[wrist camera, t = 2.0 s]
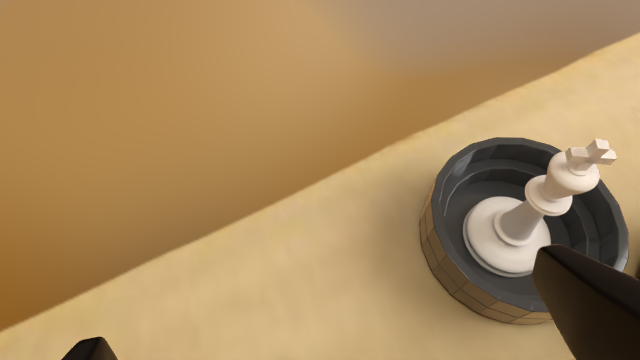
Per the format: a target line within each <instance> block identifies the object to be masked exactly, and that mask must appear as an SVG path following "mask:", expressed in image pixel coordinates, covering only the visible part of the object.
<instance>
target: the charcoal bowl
mask: <svg viewBox="0 0 640 360" xmlns="http://www.w3.org/2000/svg"><path fill="white" fill-rule="evenodd" d="M559 152H562V151H561V150H559V149H557V148H555V147H553V146H550V145H548V144H544V143H540V142H537V141H533V140H529V139H525V138H499V137H496V138H492V139H488V140H484V141H481V142H477V143H473V144H470V145H469V146H467V147H466V148H464V149H463V150H461V151H460V152H458V153H456V154H455V155H453V156H452V157H451V158H450V159H449V160H448V162H447V163H446V164H445V166H444V167H443V168H442V170H441V171H440V173H439V174H438V175H437V177H436V179H435V181H434V184H433V186H432V188H431V190H430V192H429V194H428V196H427V198H426V201H425V204H424V207H423V211H422V215H421V219H420V232H421V243H422V249H423V251H424V253H425V256H426V258H427V260H428V263H429V265H430V267H431V270H432V271H433V273H434V275H435V276H436V277H437V278H438V279H439V281H440V282H441V283H442V284H443V285H444V287H445V288H446V289H447V290H448V291H449V293H450V294H451V295H453V296H454V297H455V298H457V299H458V300H459V301H461V302H462V303H464V304H465V305H467V306H468V307H470V308H471V309H472V310H474V311H475V312H478V313H479V314H482V315H485V316H487V317H490V318H493V319H496V320H499V321H502V322H505V323H512V324H539V323H542V322H545V321H548V320H551V319H552V317H551V315H550V313H549V312H548V310H547V308H546V306H545V304H544V303H543V301H542V299H541V297H540V295H539V294H538V292H537V290H536V288H535V286H534V284H533V280H532V273H531V274H529V275H526V276H522V277H506V276H501V275H498V274H495V273H493V272H491V271H489V270H487V269H486V268H484V267H483V266H481V265H480V264H479V263H478V262H477V261H476V260H475V259H474V258H473V257H472V255H471V254H470V252H469V251H468V249H467V247H466V244H465V242H464V238H463V223H464V220H465V217H466V215H467V214H468V212H469V211H470V210H471V209H472V208H473V207H474V206H476V205H477V204H478V203H480V202H481V201H483V200H485V199H488V198H491V197H499V196H502V197H510V198H514V199H517V200H520V201H522V202H524V201H526V200H527V199H526V196H525V187H526V184H527V183H528V182H529V181H530V180H531V179H532V178H534V177H537V176H540V175H547V169H548V165H549V162H550V160H551V159H552V157H553V156H554V155H556V154H557V153H559ZM543 220H544V221H545V223H546V225H547V227H548V229H549V232H550V237H551V245H553V244H561V245H564V246H566V247H568V248H570V249H573V250H575V251H577V252H579V253H581V254H583V255H586V256H588V257H590V258H592V259H594V260H597V261H599V262H601V263H603V264H605V265H608V266H610V267H612V268H614V269H616V270H619V271H621V272H623V270H624V268H625V266H626V263H627V261H628V229H627V226H626V223H625V220H624V218H623V215H622V212H621V209H620V206H619V204H618V202H617V201H616V200H615V198H614V197H613V195H612V194H611V193H610V191H609V190H608V188H607V187H606V186H605V184H604V183H603V181H602V180H601V179H600V178H599V182H598V184H597V185H596V186H595V187H594V188H593V189H591V190H590V191H587V192H584V193H581V194H575V195H572V204H571V206H570V208H569V210H568V211H567V212H566V213H564V214H562V215H559V216H548V215H544V217H543Z"/></svg>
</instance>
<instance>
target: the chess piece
mask: <svg viewBox="0 0 640 360" xmlns="http://www.w3.org/2000/svg"><path fill="white" fill-rule="evenodd" d="M616 159H617V158H616V155H615V151H614V150H610V148H609V144H608V141H607V140H603V139H595V140H594V141H593V142H592V143H591V144H590V145H589V146H588V147H587V148H581V147H570V148H569V149H568V150H567V151H562V152H559V153H557V154H556V155H554V156H553V157H552V159H551V160H550V162H549V165H548V169H547V175H540V176H537V177H534V178H532V179H531V180H530V181H529V182H528V183H527V184H526V187H525V196H526V199H527V200H526V201H524V202H522V201H520V200H517V199H514V198H510V197H502V196H499V197H491V198H488V199H485V200H483V201H481V202H480V203H478V204H477V205H476V206H474V207H473V208H472V209H471V210H470V211H469V212H468V214H467V215H466V217H465V220H464V223H463V238H464V242H465V244H466V247H467V249H468V251H469V252H470V254H471V255H472V257H473V258H474V259H475V260H476V261H477V262H478V263H479V264H480V265H481V266H483V267H484V268H486V269H487V270H489V271H491V272H493V273H495V274H498V275H501V276H506V277H522V276H526V275H529V274H531V273H532V272H533V267H534V263H535V258H536V254H537V251H538V249H539V248H540V247H543V246H548V245H551V237H550V232H549V229H548V227H547V225H546V223H545V221H544V220H543V217H544V215H548V216H559V215H562V214H564V213H566V212H567V211H568V210H569V208H570V206H571V204H572V195H575V194H581V193H584V192H587V191H590V190H591V189H593V188H594V187H595V186H596V185H597V184H598V182H599V170H598V168H597V166H596V164H607V165H610V164H612V163H613V162H614V161H615V160H616Z"/></svg>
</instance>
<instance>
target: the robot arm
mask: <svg viewBox="0 0 640 360" xmlns="http://www.w3.org/2000/svg"><path fill="white" fill-rule="evenodd" d="M532 280H533V284H534V286H535V288H536V290H537V292H538V294H539V295H540V297H541V299H542V301H543V303H544V304H545V306H546V308H547V310H548V312H549V313H550V315H551V317H552V319H553V321H554V322H555V324H556V326H557V328H558V330H559V331H560V333H561V335H562V337H563V339H564V341H565V342H566V344H567V346H568V347H569V349H570V351H571V352H572V354H573V355H574V357H575V358H576V360H640V280H638V279H636V278H634V277H632V276H629V275H627V274H625V273H623V272H621V271H619V270H616V269H614V268H612V267H610V266H608V265H605V264H603V263H601V262H599V261H597V260H594V259H592V258H590V257H588V256H586V255H583V254H581V253H579V252H577V251H575V250H573V249H570V248H568V247H566V246H564V245H561V244H553V245H548V246H543V247H540V248H539V249H538V251H537V254H536V258H535V263H534V267H533V272H532ZM62 360H118V359H117V357H116V356H115V354H114V352H113V351H112V349H111V348H110V346H109V344H108V343H107V341H106V340H105V339H104V338H103V337H95V338H90V339H85V340H81V341H79V342H78V343H77V344H76V345H75V346H74V347H73V348H72V349H71V350H70V351H69V352H68V353H67V354H66V355H65V356H64V357H63V359H62Z"/></svg>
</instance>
